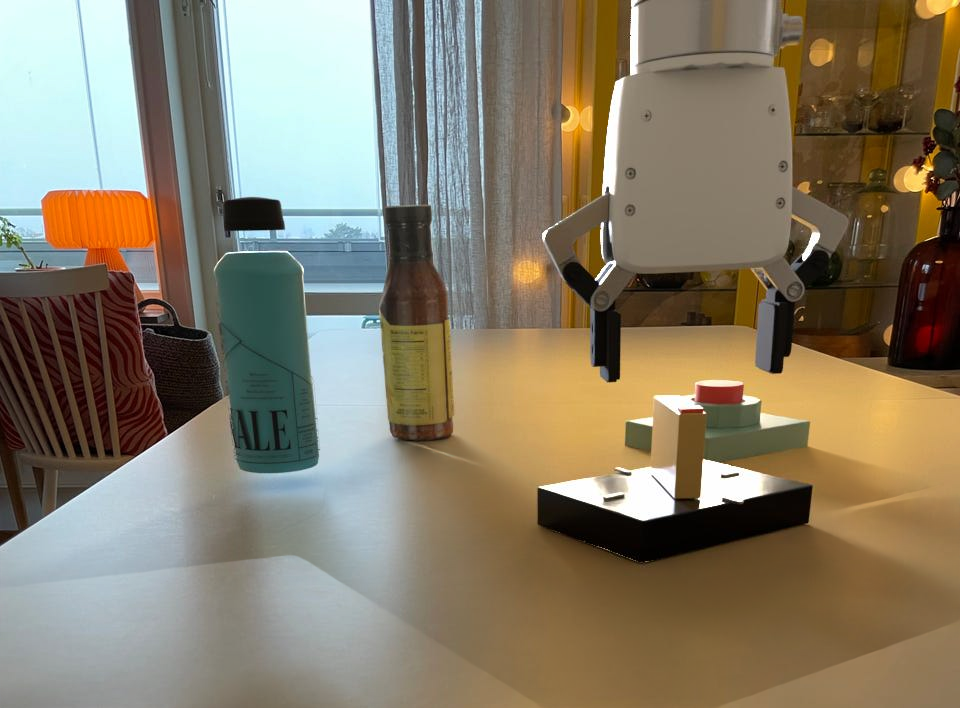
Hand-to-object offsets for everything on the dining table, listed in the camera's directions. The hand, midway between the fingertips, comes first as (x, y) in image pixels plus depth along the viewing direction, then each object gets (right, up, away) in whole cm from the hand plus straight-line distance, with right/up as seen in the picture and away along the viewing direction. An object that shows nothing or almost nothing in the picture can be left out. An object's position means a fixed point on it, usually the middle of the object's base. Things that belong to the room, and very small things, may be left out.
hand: (689, 375), depth 58 cm
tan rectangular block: (0, -6, +2) cm, 7 cm away
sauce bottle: (-18, +3, +33) cm, 37 cm away
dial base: (0, -9, +3) cm, 9 cm away
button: (+8, +4, +24) cm, 26 cm away
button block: (+8, +1, +26) cm, 27 cm away
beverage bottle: (-28, -4, +16) cm, 32 cm away
